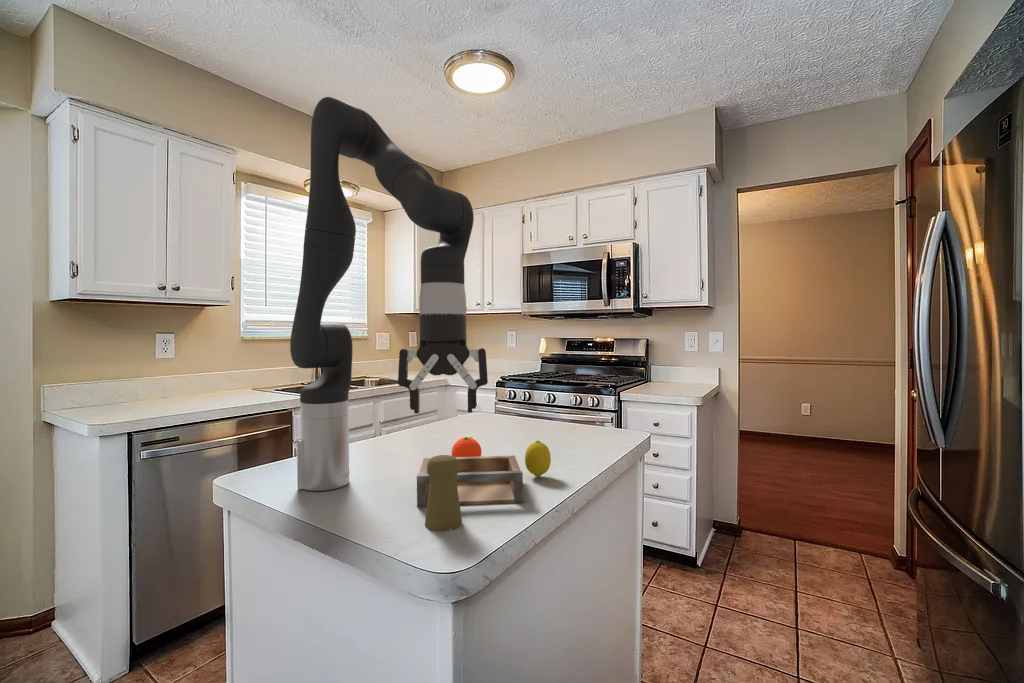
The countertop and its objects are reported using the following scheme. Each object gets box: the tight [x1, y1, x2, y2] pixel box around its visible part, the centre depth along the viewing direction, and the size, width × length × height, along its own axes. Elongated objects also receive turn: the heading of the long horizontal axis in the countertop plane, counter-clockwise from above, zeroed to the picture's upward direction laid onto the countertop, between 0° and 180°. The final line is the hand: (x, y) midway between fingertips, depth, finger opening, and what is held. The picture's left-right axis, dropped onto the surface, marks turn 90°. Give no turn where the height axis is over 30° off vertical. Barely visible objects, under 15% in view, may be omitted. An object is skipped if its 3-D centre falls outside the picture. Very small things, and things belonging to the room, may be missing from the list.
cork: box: [424, 454, 463, 532], centre depth 78 cm, size 6×6×11 cm
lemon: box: [524, 439, 552, 478], centre depth 103 cm, size 6×6×8 cm
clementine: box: [451, 436, 482, 457], centre depth 112 cm, size 8×7×7 cm
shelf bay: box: [416, 455, 524, 508], centre depth 94 cm, size 19×14×6 cm
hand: (443, 412), depth 78 cm, fingers open, 8 cm apart
